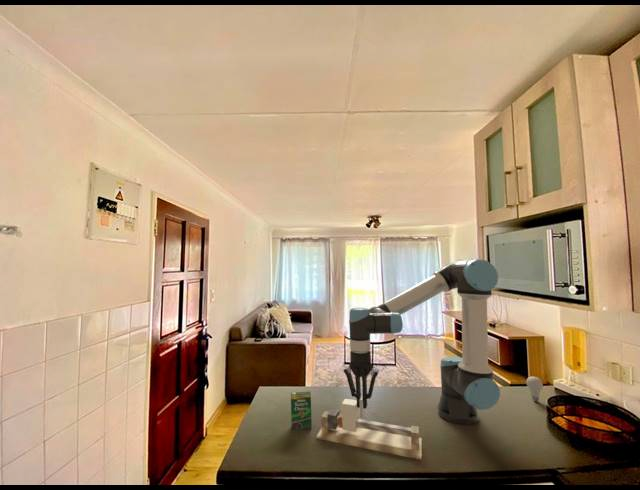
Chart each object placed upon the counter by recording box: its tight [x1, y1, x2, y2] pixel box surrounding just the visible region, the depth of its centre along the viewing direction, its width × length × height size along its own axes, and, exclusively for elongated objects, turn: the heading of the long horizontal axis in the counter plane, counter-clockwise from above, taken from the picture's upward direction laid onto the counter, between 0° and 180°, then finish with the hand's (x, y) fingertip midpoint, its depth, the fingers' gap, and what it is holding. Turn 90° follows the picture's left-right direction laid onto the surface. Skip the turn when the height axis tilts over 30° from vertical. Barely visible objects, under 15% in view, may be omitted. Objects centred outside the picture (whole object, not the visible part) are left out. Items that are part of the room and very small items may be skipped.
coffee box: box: [290, 391, 313, 431], centre depth 113 cm, size 8×3×13 cm, turn 93°
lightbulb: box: [525, 376, 544, 402], centre depth 133 cm, size 6×6×11 cm
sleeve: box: [341, 398, 359, 432], centre depth 107 cm, size 5×4×9 cm
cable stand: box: [316, 408, 423, 461], centre depth 105 cm, size 36×11×7 cm, turn 70°
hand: (362, 416), depth 106 cm, fingers closed
